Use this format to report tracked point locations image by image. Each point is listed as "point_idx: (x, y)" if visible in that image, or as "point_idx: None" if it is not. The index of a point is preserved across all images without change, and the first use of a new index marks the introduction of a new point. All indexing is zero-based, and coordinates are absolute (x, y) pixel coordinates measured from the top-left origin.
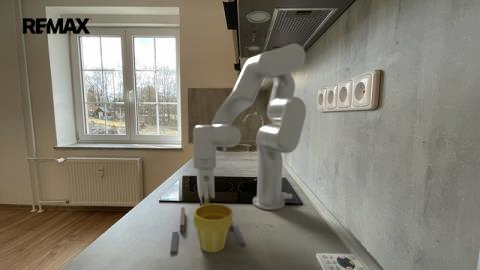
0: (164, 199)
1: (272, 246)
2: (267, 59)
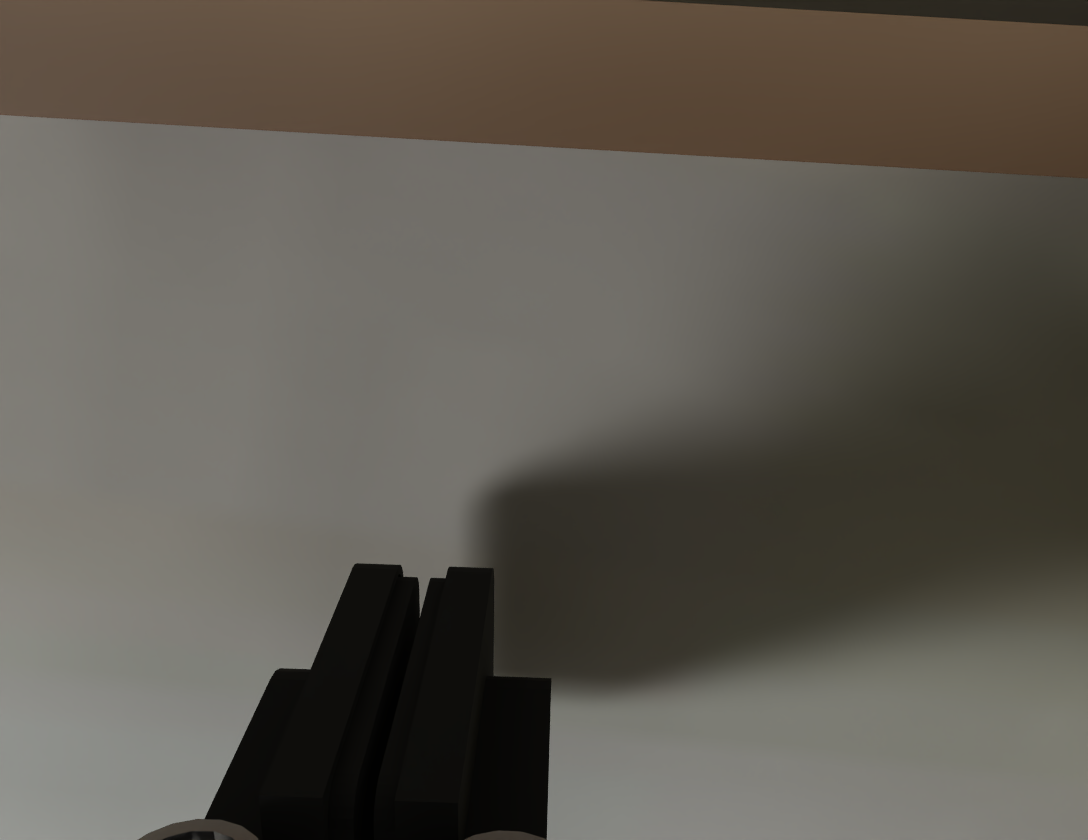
0: None
1: None
2: None
